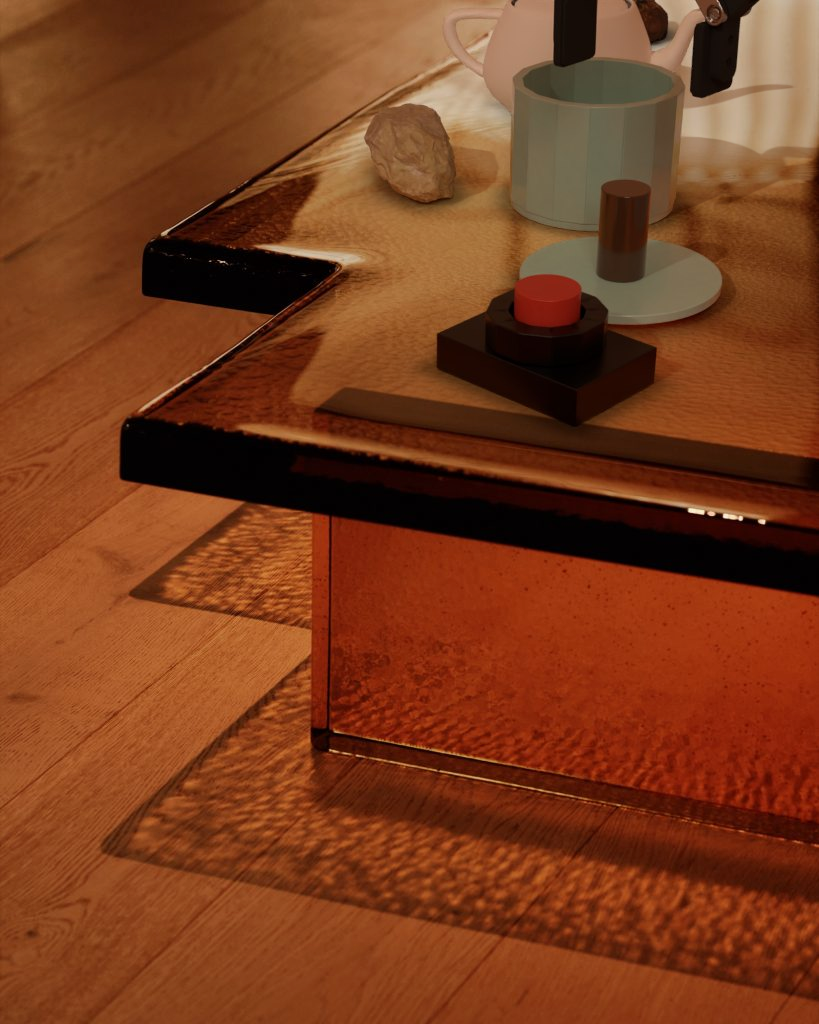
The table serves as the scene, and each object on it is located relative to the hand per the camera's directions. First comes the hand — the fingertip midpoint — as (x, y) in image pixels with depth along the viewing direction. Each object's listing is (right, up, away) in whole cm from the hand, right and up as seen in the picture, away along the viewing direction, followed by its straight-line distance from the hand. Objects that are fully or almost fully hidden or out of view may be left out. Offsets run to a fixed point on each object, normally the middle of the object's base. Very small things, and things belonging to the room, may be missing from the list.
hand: (640, 76), depth 92 cm
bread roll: (+5, +19, +58) cm, 61 cm away
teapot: (0, +8, +38) cm, 39 cm away
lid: (0, -11, +7) cm, 13 cm away
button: (-6, -14, -4) cm, 16 cm away
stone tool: (-13, -1, +24) cm, 28 cm away
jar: (0, -3, +21) cm, 21 cm away
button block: (-6, -17, -2) cm, 18 cm away
